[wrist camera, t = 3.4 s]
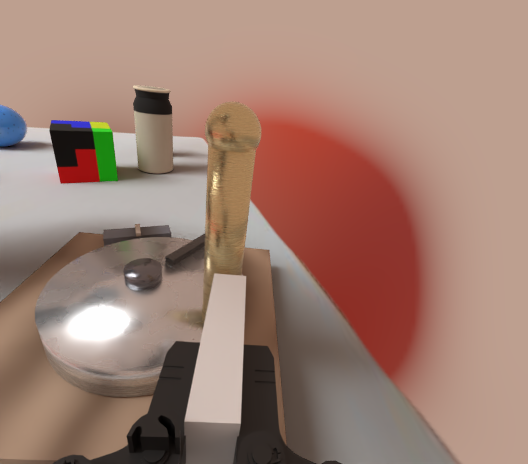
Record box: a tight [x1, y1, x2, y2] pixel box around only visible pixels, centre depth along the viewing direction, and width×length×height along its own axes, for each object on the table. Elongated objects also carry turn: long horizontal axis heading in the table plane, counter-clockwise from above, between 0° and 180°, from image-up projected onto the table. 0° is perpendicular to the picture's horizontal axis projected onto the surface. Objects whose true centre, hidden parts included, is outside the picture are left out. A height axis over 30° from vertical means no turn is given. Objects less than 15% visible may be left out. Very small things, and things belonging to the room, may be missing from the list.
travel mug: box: [133, 86, 173, 174], centre depth 66 cm, size 8×8×18 cm
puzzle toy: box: [50, 120, 118, 183], centre depth 59 cm, size 10×10×10 cm
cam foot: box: [35, 102, 261, 397], centre depth 22 cm, size 16×17×18 cm
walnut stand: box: [0, 224, 287, 464], centre depth 26 cm, size 24×24×6 cm
